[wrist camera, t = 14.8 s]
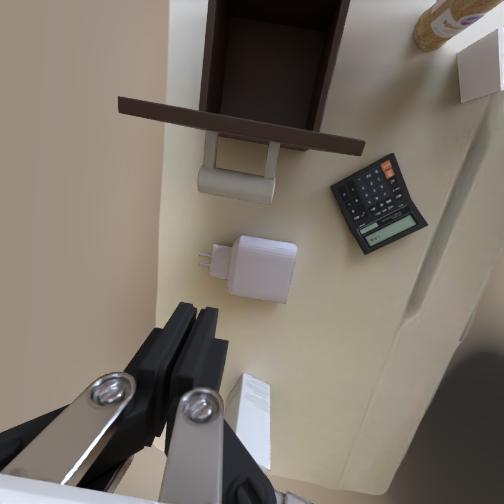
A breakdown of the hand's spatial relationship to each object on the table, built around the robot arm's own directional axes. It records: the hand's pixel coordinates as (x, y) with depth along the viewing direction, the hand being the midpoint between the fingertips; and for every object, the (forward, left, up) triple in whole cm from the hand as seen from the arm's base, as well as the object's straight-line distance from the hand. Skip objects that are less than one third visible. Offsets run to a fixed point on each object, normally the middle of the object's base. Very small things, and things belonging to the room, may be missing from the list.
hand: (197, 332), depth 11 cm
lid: (-10, 0, -13) cm, 17 cm away
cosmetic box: (+36, +6, -30) cm, 47 cm away
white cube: (-24, +27, -30) cm, 47 cm away
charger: (+8, +1, -30) cm, 31 cm away
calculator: (-5, +19, -30) cm, 36 cm away
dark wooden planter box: (-18, 0, -30) cm, 35 cm away
